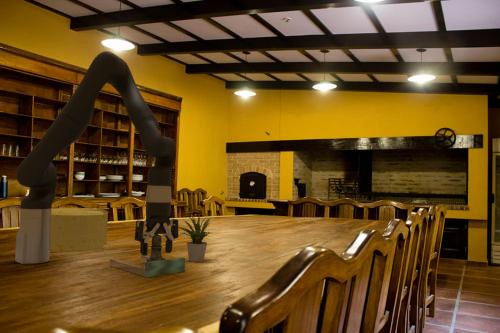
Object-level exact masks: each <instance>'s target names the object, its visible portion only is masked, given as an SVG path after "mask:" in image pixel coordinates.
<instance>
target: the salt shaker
mask: <svg viewBox="0 0 500 333" xmlns="http://www.w3.org/2000/svg"><path fill="white" fill-rule="evenodd" d="M162 248H163V246H162V236H161V234H156V235H155V234H153V236H152V237H151V245H150V255H149V256H150V257H149V258H148V259H146V261H147V262H151V261H159V260H166V258H165V257H163V256H162Z"/></svg>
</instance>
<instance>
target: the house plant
mask: <svg viewBox="0 0 500 333" xmlns="http://www.w3.org/2000/svg"><path fill="white" fill-rule="evenodd" d="M188 218H189V219H190V221H191V223H192V224H190V223H189V222H188V221H187V220H184V219H179V221H180V220H181V222H183V223H185V224H186V225H187V226H188V227H189V229H188V228H187V227H182V226H178V232H181V231H183V232H181V233H179V236H181V235H186V236H188V237H189V238H190V240H191V241H187V242H186V248H187V255H188V256H187V258H188V262H192V263H202V262H204V261H205V256H206V251H207V246H208V242H206V241H203V240H204V239H205V237H207V236H208V235H210V234H211V232H210V231H206V230H207V228H208V227H209V226H210V224H211V222H210V221H211V219H212V217H204V218H203V220H202V221H201V216H200V214H198V219H197V220H196V219H195V218H194V217H192V216H190V215H189V216H188ZM200 221H201V222H200ZM192 225H193V227H192ZM179 229H180V230H179Z"/></svg>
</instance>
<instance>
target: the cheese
mask: <svg viewBox="0 0 500 333" xmlns="http://www.w3.org/2000/svg"><path fill="white" fill-rule="evenodd" d="M108 218H109V212H108V211H107V210H106V209H103V208H101V209H100V208H89V207H88V208H87V207H85V208H83V207H62V208H61V207H60V208H59V207H58V208H52V213H51V233H50V252H55V253H57V252H59V253H76V252H91V251H98V250H99V251H100V250H103V249H104V246H105V245H106V244H107V240H108Z"/></svg>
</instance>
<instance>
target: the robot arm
mask: <svg viewBox="0 0 500 333" xmlns="http://www.w3.org/2000/svg"><path fill="white" fill-rule="evenodd" d="M106 84H108V85H111V87H113V88H114V89H115V90H116V92H117V93H118V95H120V97H121V99H122V100H123V103H124V107H125V110H126V113H127V116H128V118H129V120H130V122H131V123H132V125H133V126H134V128H135V130H136V132H137V133H138V136H139V139H140V142H141V145H142V147H143V149H144V151H145V153H146V154H147V155H149V157H151V158H154V159H155V161H154V165H153V166H151V167H150V168H148V171H147V172H148V173H147V186H146V187H147V188H146V195H145V196H146V197H145V217H146V218H145V220H139V219H137V220H136V221H135V227H134V229H135V230H134V241H137V242H139V243H140V250H139V253H140V254H141V256H148V252H149V250H148V249H149V243H148V242H149V241H150V238H152V236H153V235H156V234H158V235H162V236H164V238H165V239H166V240H165V243H164V244H165V245H164V246H165V247H164V252H165V254H171V253H172V251H173V245H174V244H173V241H174V240H175V239H179V236H180V234H179V228H178V227H179V219H178V218H177V219H176V218H171V219H170V217H171V214H172V213H171V212H172V171H173V168H174V165H175V159H176V157H177V156H176V155H177V146H176V142H175V141H174V140H173V139H172V138H171V137H169V136H164V135H162V134H161V132H160V131H159V128H160V124H159V121H158V119H157V118H156V116H155V114H154V112H152V109H151V108H150V107H149V105H148V104H147V101H146V100H145V99H144V98H143V95H142V93H141V91H140V90H139V88H138V85H137V84H136V82H135V79H134V76H133V74H132V71H131V69H130V67H129V65H128V63H127V62H126V61H125V60H124V59H122V58H121V57H120V56H118V55H116V54H115V53H114V52H112V51H110V50H109V51H108V50H106V51H105V50H104V51H102V52H100V53H98V54H97V55H96V56H95V57H94V59H93V60H92V62H90V65H89V66H88V68H87V70H86V72H85V74H84V76H83V78H82V79H81V81H80V82H79V84H78V86H77V88H76V89H75V91H73V94H72V95H71V97H70V98H69V99H68V101H67V102H66V103H65V105H64V106H63V108H62V109H61V111H60V112H59V113H58V115H57V116H55V118H54V121H53V122H52V124H51V125H50V127H48V129H47V131H45V133H44V134H43V136H42V137H41V139H39V142H38V143H37V144H36V145H35V146H34V148H32V149H31V151H30V152H29V153H28V154H27V155H26V156H25V158H24V159H23V160H22V161H20V162H21V163H20V164H19V165H18V167H17V170H16V180H17V182H18V184H19V185H20V186H21V187H24V188H29V192H28V194H27V195H26V196H25V197H23V198H22V199H21V201H20V209H19V224H18V225H19V226H18V228H19V229H18V231H16V238H15V254H14V255H15V256H14V259H15V260H14V261H15V262H16V263H18V264H22V265H26V264H27V265H28V264H40V263H41V264H42V263H47V262H49V261H50V254H51V253H50V252H51V251H50V233H51V213H52V209H53V203H54V201H55V199H56V192H57V191H56V190H57V182H58V180H57V179H58V172H57V168H56V166H55V164H54V163H53V161H54V159H55V158H56V157H57V156H58V155H59V154H60V153H61V152H63V151H64V150H66V149H67V148H68V147H71V145H72V144H74V143H75V142H76V141H77V140H78V139H79V138H81V136H82V135H83V134H84V132H85V131H86V130H87V128H88V127H89V125H90V123H91V122H92V120H93V116H94V111H95V104H96V100H97V98H98V95H99V94H100V92H102V89H103V87H104V86H105V85H106ZM169 226H170V228H169ZM145 227H146V228H145ZM144 228H145V229H144Z"/></svg>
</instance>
